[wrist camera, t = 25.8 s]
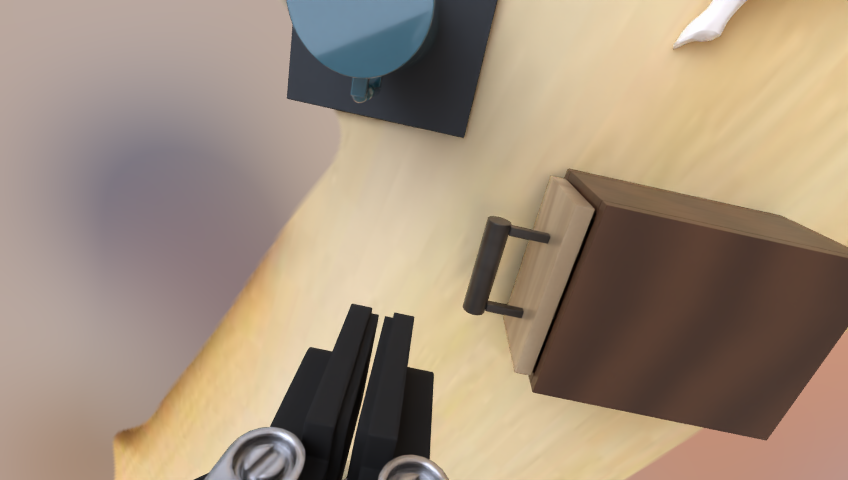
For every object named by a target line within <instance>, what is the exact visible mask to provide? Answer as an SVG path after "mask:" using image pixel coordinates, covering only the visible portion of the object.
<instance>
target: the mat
mask: <svg viewBox="0 0 848 480" xmlns="http://www.w3.org/2000/svg"><path fill="white" fill-rule="evenodd" d="M438 4H439V9H440V28H439V33H438V37H437V39H436V42H435V44H434V46H433V48H432V50H431V51H430V52H429V54H428V55H427V56H426V57H425V58H424V59H423V60H422V61H421V62H420V63H418V64H417V65H415V66H413V67H411V68H409V69H406V70H403V71H399V72H395V73H391V74H387V75H383V79H382V86H381V91H380V93H379V94H378V95H377V96H375V97H373V98H371V99H369V100H367V101H365V102H363V103H357V102H355V101H354V100H353V98H352V96H351V94H350V92H351V85H352V77H349V76H345V75H342V74H339V73H337V72H335V71H333V70H331V69H329V68H328V67H326V66H324V65H323V64H322V63H321V62H319V61H318V60H317V59H316V58H315V57H314V56H313V55H312V54H311V53H310V52H309V51H308V50H307V48H306V47H305V46H304V45H303V43H302V42H301V40H300V38H299V37H298V35H297V33H296V31H295V29H294V26H293V27H292V41H291V54H290V66H289V78H288V91H287V98H288V99H291V100H295V101H300V102H304V103H309V104H313V105H318V106H323V107H327V108H331V109H336V110H340V111H345V112H349V113H354V114H358V115H363V116H367V117H372V118H376V119H381V120H385V121H390V122H394V123H399V124H403V125H408V126H412V127H417V128H421V129H426V130H430V131H435V132H439V133H444V134H448V135H453V136H457V137H462V138H464V136H465V132H466V127H467V123H468V119H469V115H470V111H471V107H472V103H473V99H474V94H475V90H476V86H477V82H478V78H479V74H480V70H481V66H482V62H483V57H484V53H485V49H486V45H487V41H488V37H489V33H490V29H491V24H492V20H493V16H494V12H495V8H496V4H497V0H438Z"/></svg>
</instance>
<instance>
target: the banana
mask: <svg viewBox="0 0 848 480" xmlns="http://www.w3.org/2000/svg"><path fill="white" fill-rule="evenodd" d="M746 1H747V0H713V1H712V2H711V4H710V5H709V6H708V8H707V9H706V10H705V11H704V12H703V13H702V14H701V15H700V16H698V17H697V18H695V19H694V20H693V21H692V22H691V23H690V24H689V25H688V26H687V27H686V28H685V29H684V30H683V32H682V33H681V34H680V36H679V37H678V39H677V41H676V42H675V43H674V45H673V49H676V48H678V47H680V46H682V45H684V44H686V43H689V42H693V41H701V42H702V41H711V40H713V39H715V38H717V37H719V36H721V33H722V32H723V30H724V28H725V26H726V24H727V22H728V21H729V19H730V18H731V17H732V16H733V15H734V13H735V12H736V11H737V10H738V9H739V8H740V7H741V6H742V5H743V4H744V3H745V2H746Z"/></svg>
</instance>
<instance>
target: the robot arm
mask: <svg viewBox="0 0 848 480" xmlns="http://www.w3.org/2000/svg"><path fill="white" fill-rule="evenodd" d="M378 317H379V315H377V314H372V308H370V307H365V306H361V305H356V304H351V307H350V309H349V312H348V314H347V317H346V319H345V322H344V324H343V327H342V329H341V332H340V334H339V337H338V339H337V342H336V344H335V347H334V349H333V352H332V351H327V350H322V349H317V348H312V347H310V348H309V349H308V350H307V352H306V354H305V356H304V358H303V360H302V362H301V364H300V366H299V368H298V370H297V373H296V375H295V377H294V379H293V381H292V383H291V385H290V387H289V389H288V391H287V393H286V395H285V397H284V399H283V401H282V403H281V405H280V407H279V409H278V411H277V413H276V415H275V418H274V420H273V422H272V424H271V426H270V427H263V428H258V429H255V430H252V431H249V432H247V433H245V434H244V435H242V436H240V437H239V438H238V439H237V440H235V441H234V442H233V443H232V444H231V445H230V446H229V448H228V449H227V450H226V452H225V453H224V454H223V455H222V457H221V458H220V459H219V461H218V462H217V463H216V464H215V466H214V467H213V468H212V470H211V471H210V472H209V473H207V474H205V475H203V476H201V477H199V478H196V479H194V480H342V477H343V473H344V469H345V465H346V461H347V457H348V453H349V449H350V445H351V442H352V438H353V434H354V430H355V426H356V422H357V418H358V414H359V410H360V407H361V402H362V398H363V393H364V388H365V383H366V378H367V373H368V368H369V363H370V358H371V353H372V348H373V343H374V338H375V333H376V328H377V323H378ZM413 323H414V317H413V316H408V315H404V314H399V313H394V316H393V318H391V317H386V316H385V319H384V323H383V327H382V331H381V335H380V339H379V343H378V347H377V351H376V355H375V359H374V363H373V367H372V371H371V375H370V379H369V383H368V387H367V391H366V395H365V399H364V403H363V407H362V410H361V414H360V418H359V423H358V427H357V431H356V436H355V440H354V445H353V450H352V455H351V461H350V466H349V471H348V476H347V480H449V479H448V477H447V476H446V474H445V473H444V471H443V470H442V469H441V468H440V467H439V466H438V465H437V464H435V463H434V462H433V461H431V460H429V459H430V440H431V420H432V401H433V381H434V374H433V372H429V371H424V370H419V369H414V368H410V367H407V366H408V359H409V351H410V344H411V337H412V330H413Z"/></svg>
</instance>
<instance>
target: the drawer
mask: <svg viewBox="0 0 848 480" xmlns="http://www.w3.org/2000/svg"><path fill="white" fill-rule="evenodd" d="M594 211H595V209H594V208H593V207H592V206H591V204H590V203H589V202H588V201H587V200H586V199H585V198H584V197H583V196H582V195H581V194H580V193H579V192H578V191H577V190H576V189H575V188H574V187H573V186H572V185H571V184H570V183H569V182H568V181H567V180H566V179H564V178H560V177H555V176H550V179H549V182H548V185H547V188H546V191H545V194H544V197H543V200H542V203H541V206H540V209H539V212H538V215H537V218H536V221H535V224H534V227H533V230H532V229H527V228H522V227H518V226H513V225H511V222H509V221H508V220H506V219H504V218H501V217H496V216H491V217H488V219H487V223H486V226H485V230H484V233H483V237H482V240H481V244H480V247H479V251H478V254H477V258H476V261H475V265H474V268H473V272H472V275H471V279H470V283H469V286H468V290H467V293H466V297H465V300H464V304H463V308H464V310H465V311H466V312H468V313H470V314H473V315H482V314H483V313H484V311H485V310H486V311H488V312H493V313H497V314H502V315H504V317H503V319H504V324H505V328H506V333H507V338H508V343H509V348H510V353H511V358H512V362H513V367H514V372H516V373H520V374H525V375H531V373H532V371H533V368H534V366H535V363H536V360H537V358H538V355H539V353H540V350H541V347H542V345H543V342H544V341H545V344H546V343H547V340H548V337H549V335H550V332H551V330H552V327H553V325H554V322H555V320H556V317H557V314H558V312H559V309H560V307H561V304H562V302H563V299H564V297H565V294H566V291H567V289H568V286H569V284H570V281H571V279H572V276H573V274H574V271H575V268H576V266H577V263H578V261H579V258H580V256H581V253H582V251H583V248H584V245H585V243H586V240H587V238H588V235H589V233H590V230H591V228H592V225H593V222H594V220H595V217H596V215H597V214H596V213H595V212H594ZM508 234H509V236H513V237H518V238H523V239H527V240H529V242H528V245H527V248H526V251H525V254H524V257H523V260H522V263H521V266H520V269H519V272H518V275H517V278H516V281H515V284H514V287H513V290H512V293H511V296H510V299H509V302H508V305H506V304H501V303H497V302H492V301H488V299H489V295H490V292H491V289H492V286H493V282H494V279H495V276H496V273H497V270H498V266H499V263H500V260H501V257H502V253H503V250H504V247H505V244H506V241H507V237H508Z"/></svg>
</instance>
